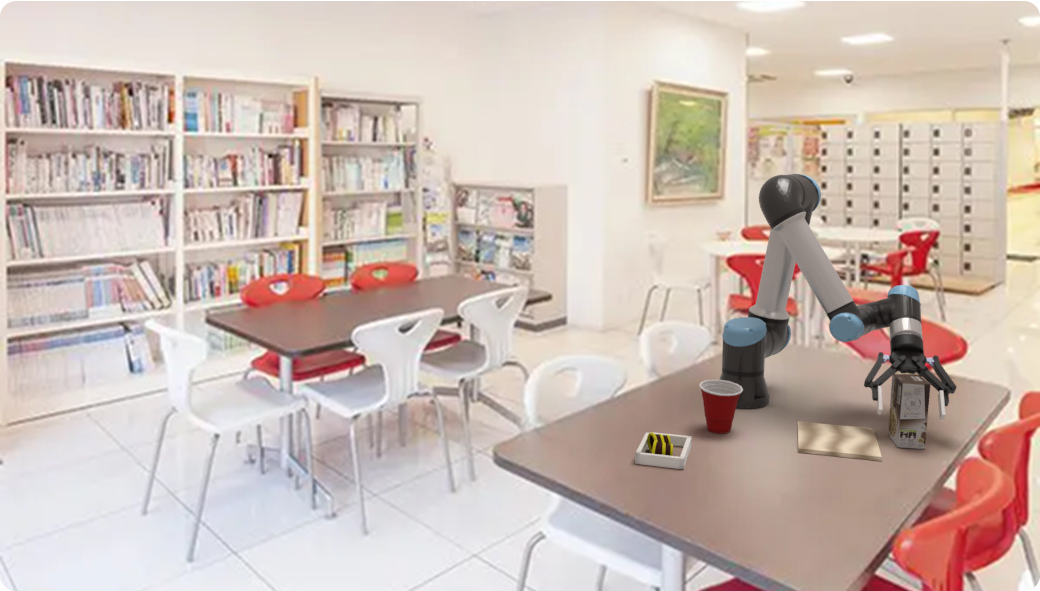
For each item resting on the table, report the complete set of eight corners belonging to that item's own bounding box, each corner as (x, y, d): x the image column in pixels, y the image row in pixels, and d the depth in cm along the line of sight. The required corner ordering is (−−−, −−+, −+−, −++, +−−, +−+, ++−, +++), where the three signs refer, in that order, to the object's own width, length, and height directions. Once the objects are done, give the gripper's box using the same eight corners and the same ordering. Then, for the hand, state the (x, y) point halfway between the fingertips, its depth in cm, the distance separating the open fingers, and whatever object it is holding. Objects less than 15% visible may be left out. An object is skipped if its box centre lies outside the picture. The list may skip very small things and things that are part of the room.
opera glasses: (675, 465, 176) (675, 444, 175) (651, 464, 176) (652, 444, 175) (668, 449, 186) (669, 429, 185) (646, 449, 186) (646, 429, 185)
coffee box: (926, 449, 183) (931, 384, 180) (897, 447, 184) (902, 383, 182) (914, 436, 192) (919, 373, 189) (887, 434, 193) (891, 372, 190)
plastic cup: (717, 440, 191) (719, 394, 188) (689, 427, 200) (690, 383, 198) (750, 433, 196) (752, 387, 193) (721, 420, 205) (722, 377, 203)
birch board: (798, 452, 182) (798, 448, 182) (797, 425, 201) (797, 421, 201) (881, 461, 177) (881, 456, 176) (872, 432, 195) (873, 428, 195)
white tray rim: (635, 463, 177) (635, 453, 176) (646, 441, 191) (646, 431, 190) (683, 469, 173) (683, 458, 173) (691, 446, 187) (691, 436, 187)
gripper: (958, 350, 195) (966, 426, 184) (851, 344, 203) (853, 416, 192) (964, 334, 190) (973, 412, 178) (854, 329, 198) (856, 402, 186)
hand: (910, 414), depth 185 cm, fingers open, 13 cm apart
